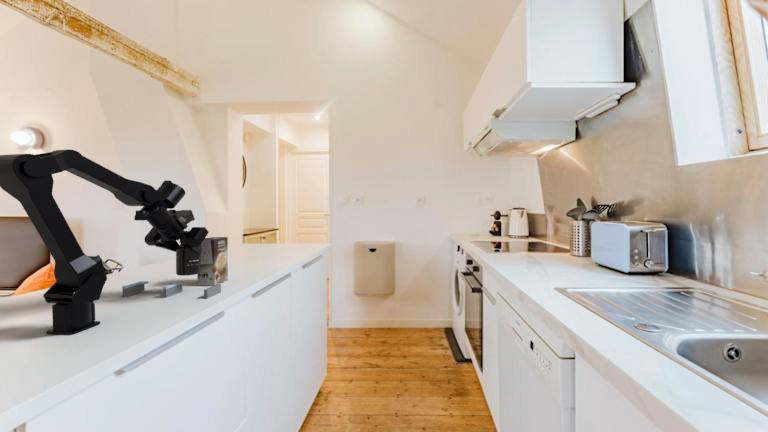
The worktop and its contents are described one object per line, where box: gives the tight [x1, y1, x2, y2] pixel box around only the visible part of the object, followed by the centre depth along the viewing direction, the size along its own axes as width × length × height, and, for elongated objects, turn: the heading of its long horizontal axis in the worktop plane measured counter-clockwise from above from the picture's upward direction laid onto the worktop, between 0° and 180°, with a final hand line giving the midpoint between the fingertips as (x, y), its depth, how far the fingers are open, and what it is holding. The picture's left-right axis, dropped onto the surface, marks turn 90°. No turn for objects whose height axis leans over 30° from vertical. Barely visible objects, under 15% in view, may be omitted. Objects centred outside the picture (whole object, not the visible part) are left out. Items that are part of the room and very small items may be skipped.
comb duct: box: [121, 280, 222, 299], centre depth 101 cm, size 7×27×3 cm, turn 85°
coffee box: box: [196, 236, 229, 287], centre depth 117 cm, size 9×6×16 cm
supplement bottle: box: [175, 239, 201, 276], centre depth 105 cm, size 7×7×12 cm
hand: (191, 252), depth 106 cm, fingers closed on supplement bottle, 7 cm apart
